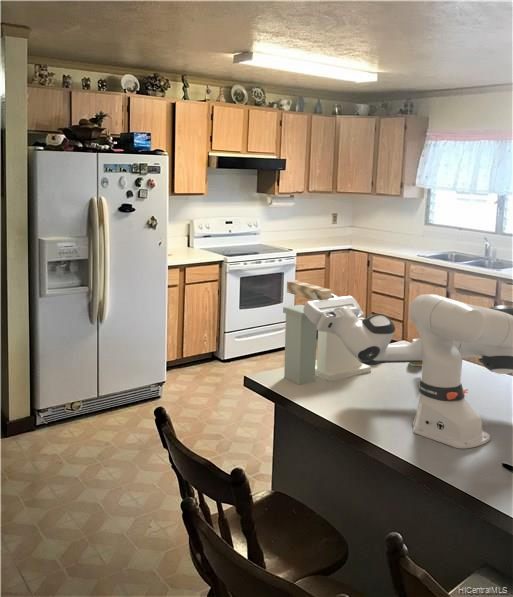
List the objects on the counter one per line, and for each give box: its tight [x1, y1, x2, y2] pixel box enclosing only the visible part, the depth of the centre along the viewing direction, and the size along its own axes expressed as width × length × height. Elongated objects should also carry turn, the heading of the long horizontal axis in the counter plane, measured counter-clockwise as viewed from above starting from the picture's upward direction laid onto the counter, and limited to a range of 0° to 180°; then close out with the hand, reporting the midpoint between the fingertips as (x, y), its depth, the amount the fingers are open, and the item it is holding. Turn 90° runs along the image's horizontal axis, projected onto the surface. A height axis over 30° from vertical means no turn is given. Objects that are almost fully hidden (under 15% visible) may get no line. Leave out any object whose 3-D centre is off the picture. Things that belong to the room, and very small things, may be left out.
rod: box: [286, 279, 333, 301], centre depth 220 cm, size 20×4×4 cm, turn 33°
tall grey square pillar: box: [282, 304, 318, 385], centre depth 227 cm, size 11×8×26 cm
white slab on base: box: [315, 317, 372, 382], centre depth 237 cm, size 12×20×20 cm, turn 123°
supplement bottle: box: [408, 338, 422, 367], centre depth 249 cm, size 5×5×10 cm
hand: (319, 293), depth 215 cm, fingers closed on rod, 4 cm apart
